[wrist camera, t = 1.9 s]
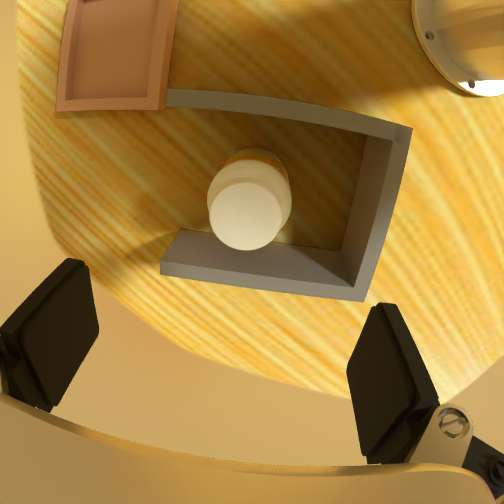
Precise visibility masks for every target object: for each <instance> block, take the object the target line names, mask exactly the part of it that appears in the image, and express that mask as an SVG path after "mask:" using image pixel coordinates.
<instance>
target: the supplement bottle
mask: <svg viewBox="0 0 504 504" xmlns="http://www.w3.org/2000/svg"><path fill="white" fill-rule="evenodd" d="M207 207H208V211H209V220H210V224H211V227H212V230H213V232H214V233H215V235H216V236H217V237H218V238H219V240H221V241H222V242H223V243H224V244H226V245H227V246H229V247H232V248H234V249H238V250H255V249H258V248H261V247H263V246H265V245H267V244H268V243H269V242H271V241H272V240H273V239H274V238H275V236H276V235H277V233H278V231H279V230H280V229H281V228H282V227H283V226H284V225H285V223H286V222H287V220H288V218H289V215H290V212H291V207H292V197H291V191H290V185H289V180H288V174H287V170H286V168H285V166H284V164H283V162H282V161H281V160H280V158H279V157H278V156H276V155H275V154H274V153H272V152H271V151H269V150H266V149H263V148H259V147H249V148H245V149H242V150H239V151H237V152H236V153H234V154H233V155H232V156H231V157H230V158H229V159H228V160H227V162H226V163H225V164H224V165H223V167H222V168H221V169H220V170H219V172H218V173H217V175H216V176H215V177H214V179H213V180H212V182H211V184H210V187H209V190H208V194H207Z"/></svg>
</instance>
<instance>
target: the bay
mask: <svg viewBox="0 0 504 504" xmlns="http://www.w3.org/2000/svg"><path fill="white" fill-rule="evenodd" d="M166 107H182V108H198V109H211V110H222V111H232V112H241V113H250V114H258V115H265V116H273V117H279V118H286V119H292V120H298V121H304V122H310V123H315V124H320V125H326V126H331V127H335V128H340V129H345V130H349V131H354V132H358V133H363V134H367V137H366V142H365V147H364V152H363V157H362V162H361V167H360V171H359V176H358V181H357V185H356V189H355V194H354V198H353V202H352V206H351V211H350V215H349V219H348V223H347V227H346V231H345V234H344V238H343V242H342V246H341V250H340V251H333V250H326V249H319V248H313V247H306V246H299V245H292V244H285V243H278V242H269V243H268V244H267V245H265V246H263V247H261V248H258V249H255V250H238V249H234V248H232V247H229V246H227V245H226V244H224V243H223V242H222V241H221V240H219V238H218V237H217V236H216V235H215V234H214V233H207V232H199V231H192V230H185V229H180V230H179V232H178V233H177V235H176V236H175V238H174V240H173V241H172V243H171V244H170V246H169V247H168V249H167V250H166V252H165V254H164V255H163V257H162V258H161V260H160V275H166V276H172V277H179V278H185V279H191V280H198V281H204V282H211V283H218V284H224V285H231V286H238V287H245V288H252V289H260V290H267V291H274V292H282V293H290V294H297V295H305V296H314V297H322V298H330V299H339V300H347V301H356V302H364V300H365V297H366V294H367V292H368V289H369V286H370V283H371V280H372V277H373V275H374V272H375V269H376V266H377V263H378V260H379V257H380V253H381V250H382V247H383V244H384V241H385V237H386V234H387V231H388V227H389V224H390V221H391V217H392V214H393V210H394V206H395V203H396V199H397V195H398V191H399V188H400V184H401V180H402V175H403V171H404V167H405V163H406V158H407V154H408V149H409V145H410V140H411V135H412V130H413V128H410V127H407V126H403V125H400V124H396V123H393V122H389V121H386V120H382V119H378V118H374V117H371V116H367V115H362V114H358V113H354V112H350V111H345V110H341V109H336V108H331V107H327V106H322V105H316V104H311V103H306V102H300V101H294V100H288V99H281V98H274V97H267V96H260V95H251V94H243V93H233V92H222V91H209V90H193V89H168V88H167V98H166Z"/></svg>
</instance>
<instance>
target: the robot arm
mask: <svg viewBox="0 0 504 504" xmlns="http://www.w3.org/2000/svg"><path fill="white" fill-rule="evenodd" d="M411 13H412V21H413V25H414V29H415V32H416V35H417V38H418V40H419V42H420V44H421V47H422V49H423V50H424V52H425V54H426V55H427V57H428V59H429V60H430V62H431V63H432V64H433V65H434V67H435V68H436V69H437V71H438V72H439V73H440V74H441V75H442V76H443V77H445V78H446V79H447V80H448V81H449V82H450V83H452V84H453V85H454V86H456V87H457V88H459V89H461V90H463V91H465V92H467V93H469V94H473V95H476V96H483V97H494V96H498V95H501V94H504V0H412V5H411ZM425 35H426V36H427V38H426V36H425ZM98 334H99V324H98V320H97V315H96V309H95V304H94V299H93V293H92V287H91V280H90V274H89V268H88V266H86V265H85V263H84V261H82V260H78V259H72V258H67V259H66V260H64V261H63V262H62V263H61V264H60V265H59V266H58V267H57V268H56V269H55V270H54V271H53V272H52V273H51V274H50V275H49V276H48V277H47V278H46V279H45V280H44V281H43V282H42V283H41V284H40V285H39V286H38V287H37V288H36V289H35V290H34V291H33V292H32V293H31V294H30V295H29V296H28V297H27V299H26V300H25V301H24V302H23V303H22V304H21V305H20V306H19V307H18V308H17V309H16V310H15V311H14V312H13V314H12V315H11V316H10V317H9V318H8V319H7V320H6V321H5V323H4V324H3V325H2V326H1V327H0V504H504V454H502V453H501V452H499V451H498V450H496V449H494V448H493V447H491V446H489V445H488V444H486V443H485V442H483V441H481V440H480V439H478V438H477V437H475V436H473V435H472V434H473V430H474V426H473V421H472V419H471V417H470V415H469V414H468V413H467V412H466V410H464V409H463V408H461V407H460V406H458V405H455V404H449V403H447V404H442V405H440V403H439V401H438V398H439V397H438V395H437V392H436V390H435V387H434V385H433V383H432V380H431V378H430V376H429V373H428V371H427V369H426V366H425V364H424V362H423V360H422V357H421V355H420V353H419V351H418V349H417V346H416V344H415V342H414V340H413V338H412V336H411V334H410V331H409V329H408V327H407V325H406V323H405V321H404V319H403V317H402V315H401V313H400V311H399V309H398V307H397V305H396V304H391V303H381V302H380V303H378V304H377V305H376V306H373V307H372V308H371V310H370V312H369V315H368V317H367V320H366V322H365V325H364V327H363V330H362V332H361V334H360V337H359V339H358V342H357V344H356V346H355V349H354V351H353V353H352V355H351V358H350V360H349V362H348V365H347V371H346V373H347V378H348V383H349V388H350V393H351V398H352V404H353V408H354V414H355V420H356V425H357V431H358V436H359V442H360V448H361V453H362V455H363V456H366V458H367V464H380V463H381V465H366V466H331V467H330V466H329V467H314V466H282V465H267V464H256V463H246V462H237V461H228V460H221V459H214V458H208V457H202V456H195V455H190V454H185V453H180V452H175V451H169V450H165V449H160V448H156V447H152V446H147V445H144V444H140V443H136V442H132V441H129V440H125V439H122V438H118V437H115V436H111V435H108V434H105V433H102V432H99V431H96V430H92V429H90V428H87V427H83V426H81V425H78V424H75V423H72V422H70V421H67V420H64V419H62V418H59V417H57V416H54V415H52V414H49V413H50V412H51V410H52V408H53V406H57V405H58V404H59V402H60V401H61V399H62V397H63V395H64V393H65V392H66V390H67V388H68V386H69V384H70V383H71V381H72V379H73V377H74V376H75V374H76V372H77V370H78V368H79V367H80V365H81V363H82V362H83V360H84V358H85V357H86V355H87V353H88V352H89V350H90V348H91V347H92V345H93V343H94V342H95V340H96V338H97V337H98ZM35 407H37V408H38V409H37V408H35ZM40 409H41V410H40ZM42 410H43V411H42ZM44 411H45V412H44ZM47 412H48V413H47Z"/></svg>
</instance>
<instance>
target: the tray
mask: <svg viewBox="0 0 504 504" xmlns="http://www.w3.org/2000/svg"><path fill="white" fill-rule="evenodd" d="M178 6H179V0H69V3H68V8H67V14H66V19H65V25H64V31H63V38H62V45H61V53H60V61H59V71H58V83H57V99H56V112H65V111H84V110H164V109H165V105H166V94H167V85H168V76H169V67H170V59H171V51H172V44H173V37H174V30H175V24H176V18H177V12H178Z"/></svg>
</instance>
